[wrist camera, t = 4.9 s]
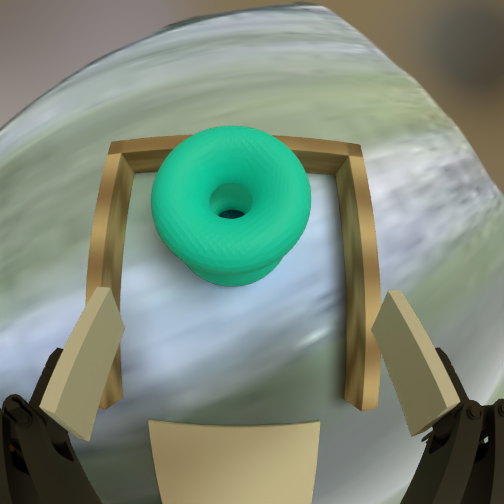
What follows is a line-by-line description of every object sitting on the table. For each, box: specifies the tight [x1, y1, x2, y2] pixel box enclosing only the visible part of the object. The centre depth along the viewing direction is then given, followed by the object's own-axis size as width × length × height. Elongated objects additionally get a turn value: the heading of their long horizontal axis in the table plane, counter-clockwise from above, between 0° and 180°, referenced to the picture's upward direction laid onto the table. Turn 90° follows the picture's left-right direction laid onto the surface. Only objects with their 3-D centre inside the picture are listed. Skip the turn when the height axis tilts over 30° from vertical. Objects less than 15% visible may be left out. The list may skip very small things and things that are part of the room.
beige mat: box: [148, 419, 320, 504], centre depth 19 cm, size 14×16×1 cm
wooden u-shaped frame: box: [85, 135, 381, 411], centre depth 22 cm, size 24×24×4 cm
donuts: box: [151, 126, 311, 286], centre depth 20 cm, size 10×10×10 cm
